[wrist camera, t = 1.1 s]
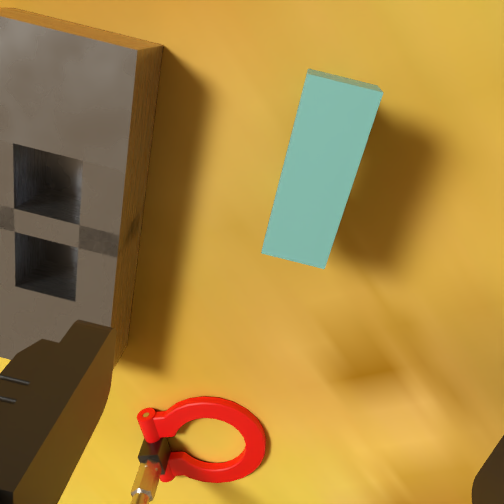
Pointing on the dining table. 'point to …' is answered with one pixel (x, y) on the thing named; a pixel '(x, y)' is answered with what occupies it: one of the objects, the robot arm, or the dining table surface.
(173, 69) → the dining table surface
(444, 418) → the dining table surface
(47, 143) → the rectangular board
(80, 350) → the robot arm
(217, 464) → the tow hook
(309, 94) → the teal rectangular prism
